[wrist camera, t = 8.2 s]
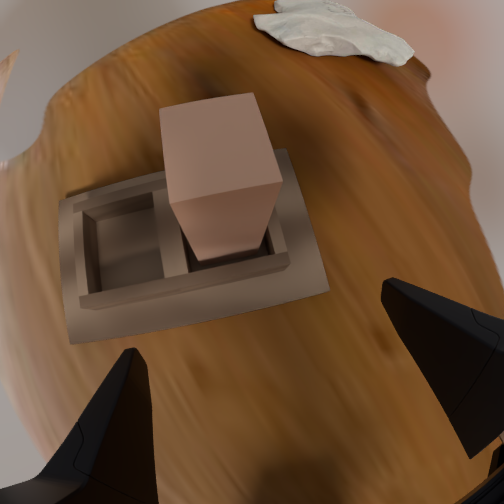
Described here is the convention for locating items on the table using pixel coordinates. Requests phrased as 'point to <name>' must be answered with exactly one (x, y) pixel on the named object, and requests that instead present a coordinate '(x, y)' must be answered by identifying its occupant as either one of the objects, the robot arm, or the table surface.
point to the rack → (173, 261)
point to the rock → (331, 31)
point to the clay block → (220, 175)
